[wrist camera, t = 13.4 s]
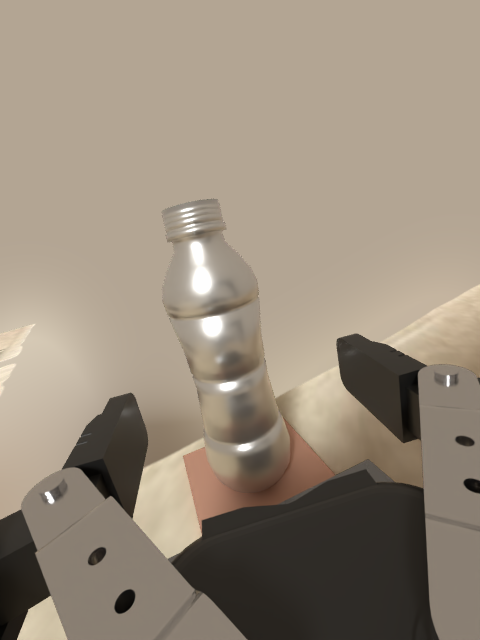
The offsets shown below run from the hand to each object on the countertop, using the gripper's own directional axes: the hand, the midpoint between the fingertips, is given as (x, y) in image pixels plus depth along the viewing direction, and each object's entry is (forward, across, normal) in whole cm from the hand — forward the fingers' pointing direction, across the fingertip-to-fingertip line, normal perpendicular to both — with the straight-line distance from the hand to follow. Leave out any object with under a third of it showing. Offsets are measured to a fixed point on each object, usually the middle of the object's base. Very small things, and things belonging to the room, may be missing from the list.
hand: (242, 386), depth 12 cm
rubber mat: (+9, 0, +13) cm, 16 cm away
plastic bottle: (+9, 0, +12) cm, 16 cm away
